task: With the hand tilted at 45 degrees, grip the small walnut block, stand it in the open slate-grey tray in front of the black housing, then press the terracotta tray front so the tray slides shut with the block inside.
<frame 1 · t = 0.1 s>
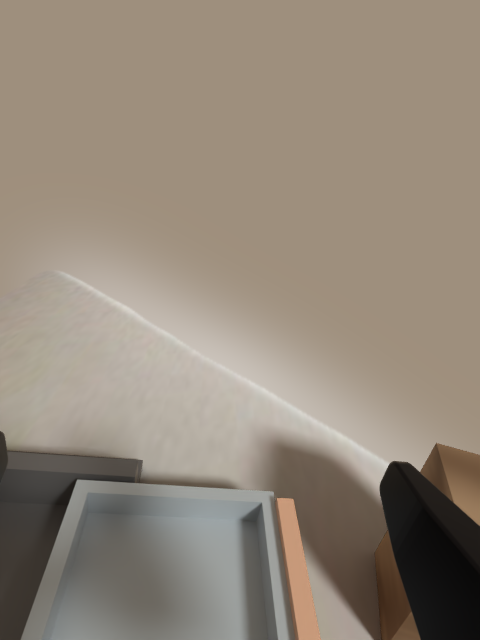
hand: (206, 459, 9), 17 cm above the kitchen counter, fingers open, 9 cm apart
walnut block: (425, 612, 23), on the kitchen counter
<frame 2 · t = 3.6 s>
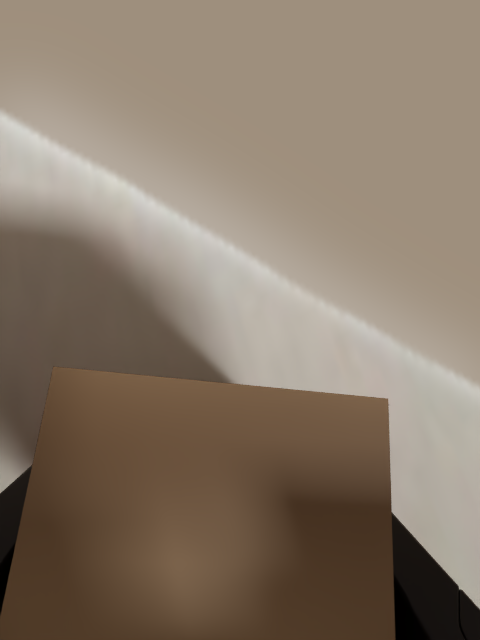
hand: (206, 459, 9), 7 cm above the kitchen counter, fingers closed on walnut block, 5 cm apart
walnut block: (190, 487, 15), on the kitchen counter, touching gripper
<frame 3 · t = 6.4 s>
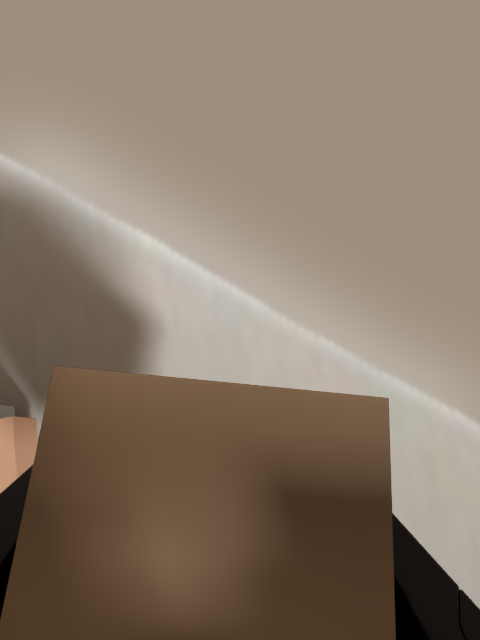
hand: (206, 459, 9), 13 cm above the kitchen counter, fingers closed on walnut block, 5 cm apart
walnut block: (191, 487, 15), point 7 cm above the kitchen counter, touching gripper
when the fingers open (9 cm above the kitchen counter, at t = 9.3 s): walnut block drops 1 cm, resting on tray.
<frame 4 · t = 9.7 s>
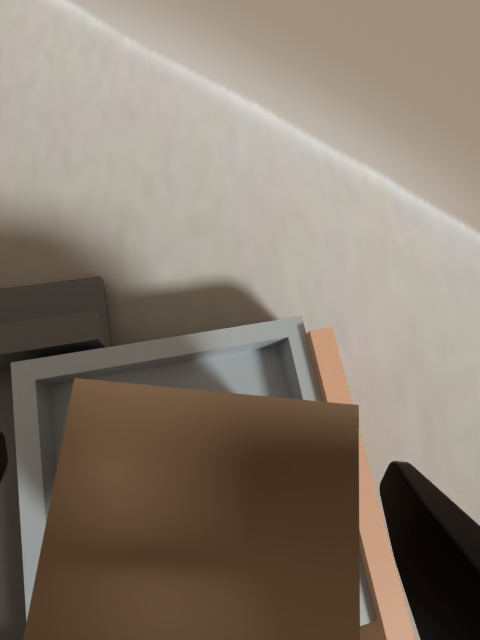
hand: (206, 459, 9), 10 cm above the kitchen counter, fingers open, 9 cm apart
walnut block: (190, 483, 16), point 2 cm above the kitchen counter, touching tray
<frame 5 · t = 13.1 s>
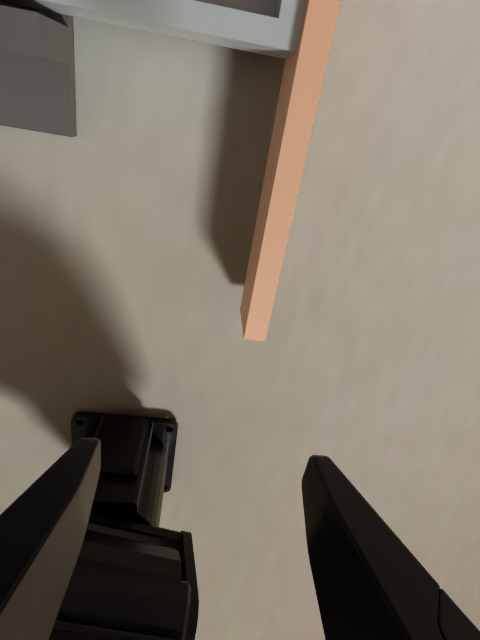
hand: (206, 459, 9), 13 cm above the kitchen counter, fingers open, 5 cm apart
tray: (143, 17, 14), point 2 cm above the kitchen counter, slide at 8.0 cm, touching walnut block
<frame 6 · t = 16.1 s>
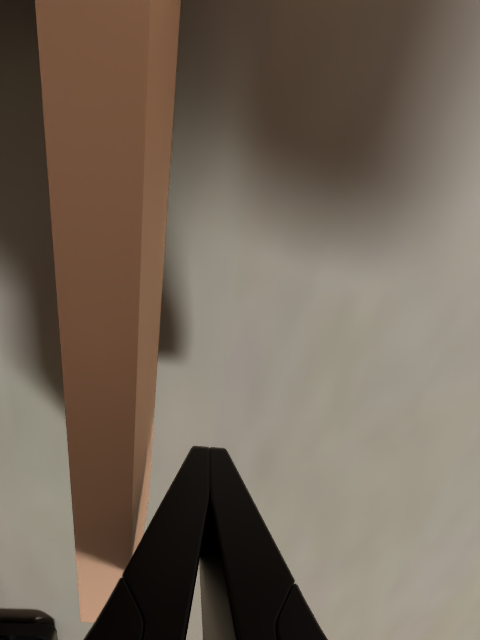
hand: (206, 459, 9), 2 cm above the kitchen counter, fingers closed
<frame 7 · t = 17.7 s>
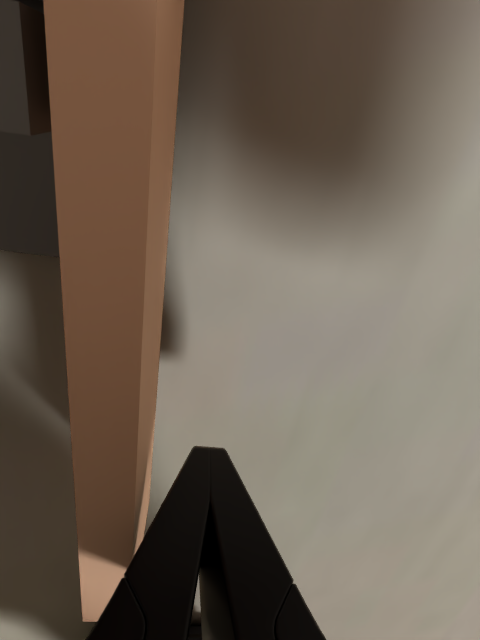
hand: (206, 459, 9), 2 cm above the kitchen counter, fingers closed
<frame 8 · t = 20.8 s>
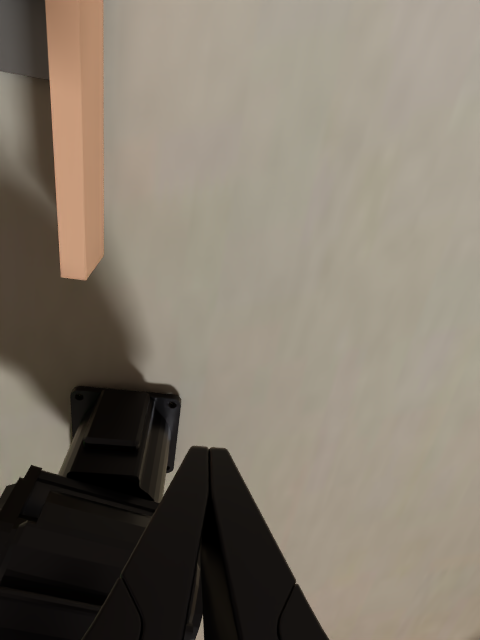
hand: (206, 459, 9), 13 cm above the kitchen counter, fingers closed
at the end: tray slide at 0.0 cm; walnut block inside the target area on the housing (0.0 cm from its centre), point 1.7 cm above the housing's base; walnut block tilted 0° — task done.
